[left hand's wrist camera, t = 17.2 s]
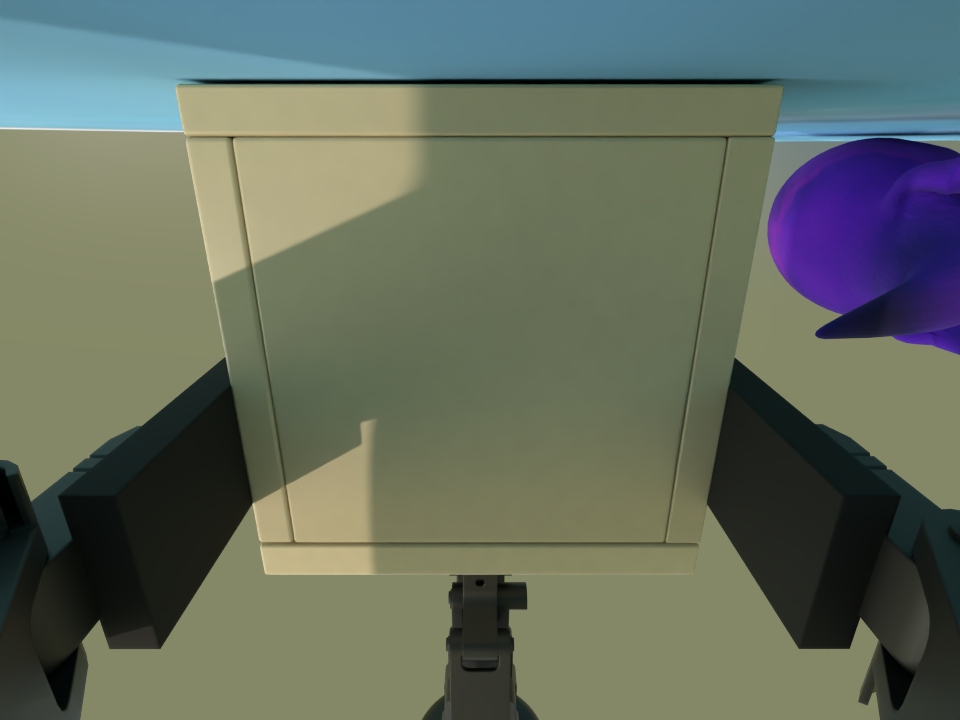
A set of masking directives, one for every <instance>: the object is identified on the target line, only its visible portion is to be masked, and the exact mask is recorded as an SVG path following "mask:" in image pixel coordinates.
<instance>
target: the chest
mask: <svg viewBox="0 0 960 720" xmlns="http://www.w3.org/2000/svg"><path fill="white" fill-rule="evenodd" d="M783 90H784V88H783V86H782V85H780V84H179V85H177V86H176V94H177V100H178V105H179V110H180V116H181V121H182V127H183V131H184V134H185V135H187V136H189V138H187V139H186V146H187V151H188V156H189V162H190V167H191V173H192V178H193V183H194V189H195V194H196V200H197V205H198V210H199V216H200V221H201V227H202V232H203V237H204V243H205V248H206V254H207V259H208V265H209V270H210V275H211V280H212V286H213V292H214V297H215V302H216V308H217V313H218V319H219V324H220V329H221V335H222V340H223V346H224V351H225V356H226V362H227V367H228V373H229V378H230V383H231V389H232V394H233V400H234V405H235V410H236V416H237V421H238V427H239V432H240V437H241V443H242V448H243V454H244V459H245V465H246V470H247V475H248V481H249V486H250V492H251V497H252V502H253V508H254V513H255V519H256V524H257V529H258V535H259V540H260V541H261V542H291V541H293V540H294V539H295V541H296V542H664V540H665V541H666V542H667V543H699V542H700V541H701V535H702V530H703V525H704V519H705V514H706V508H707V501H708V496H709V490H710V485H711V479H712V474H713V469H714V463H715V458H716V452H717V447H718V442H719V436H720V431H721V425H722V420H723V415H724V409H725V404H726V398H727V393H728V388H729V385H730V379H731V374H732V368H733V363H734V358H735V352H736V347H737V341H738V336H739V331H740V325H741V320H742V314H743V309H744V304H745V298H746V293H747V288H748V282H749V277H750V271H751V266H752V261H753V255H754V250H755V245H756V239H757V234H758V228H759V223H760V218H761V212H762V207H763V201H764V196H765V191H766V185H767V180H768V174H769V169H770V164H771V158H772V153H773V148H774V142H775V138H774V137H770V136H773V135H774V134H775V132H776V128H777V122H778V117H779V112H780V106H781V101H782V95H783Z"/></svg>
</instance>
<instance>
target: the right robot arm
mask: <svg viewBox="0 0 960 720" xmlns="http://www.w3.org/2000/svg"><path fill="white" fill-rule="evenodd" d="M449 604H450V608H452V627H451V628H450V631H449V636H448V637H447V638H446V651H448V659H449V663H448V664H447V666H446V672H445V686H444V690H445V695H444V696H442V697H441V698H440V699H439V700H438V701H436V702H435V703H434V704H433V705H432V706H431V707H430V709H429V710H428V711H427V713H426V714H425V715H424V717H423V719H422V720H539V719H538V717H537V716H536V714H535V713H534V711H533V710H532V709H531V708H530V706H529V705H528V704H527V703H526V702H524V701H523V700H522V699H521V698H520V697H518V696H517V695H516V692H517V685H516V672H515V666H514V664H513V651H514V638H512V632H511V628H510V627H509V609H527V588H526V583H525V582H504V575H457V582H453V583H452V589H451V591H449Z"/></svg>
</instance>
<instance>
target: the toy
mask: <svg viewBox="0 0 960 720" xmlns="http://www.w3.org/2000/svg"><path fill="white" fill-rule="evenodd" d="M768 243H769V248H770V252H771V255H772V258H773V260H774V262H775V264H776V266H777V268H778V270H779V272H780V273H781V274H782V276H783V277H784V278H785V280H786V281H787V282H788V283H789V284H790V285H791V286H792V287H793V288H794V289H795V290H796V291H797V292H799V293H800V294H801V295H802V296H804V297H805V298H807V299H809V300H810V301H812V302H814V303H815V304H817V305H819V306H822V307H824V308H826V309H828V310H831V311H833V312H836V313H840V314H843V315H842V316H840V317H838V318H837V319H835V320H833V321H831V322H829V323H828V324H826V325H824V326H823V327H821V328H820V329H819V330H817V331H816V333H815V335H816V336H817V337H818V338H822V339H841V338H872V337H885V336H893V337H894V338H895V339H897V340H899V341H902V342H905V343H911V344H922V345H933V346H935V347H938V348H941V349H944V350H947V351H950V352H953V353H956V354H959V355H960V153H958V152H956V151H954V150H951V149H949V148H945V147H941V146H937V145H932V144H928V143H922V142H916V141H910V140H904V139H897V138H869V139H862V140H856V141H852V142H848V143H845V144H842V145H839V146H837V147H834V148H831V149H829V150H827V151H825V152H823V153H821V154H819V155H817V156H816V157H814V158H812V159H811V160H809V161H808V162H806V163H805V164H804V165H802V166H801V167H800V168H799V169H798V170H796V171H795V172H794V173H793V175H792V176H791V177H790V178H789V179H788V180H787V181H786V182H785V184H784V185H783V186H782V188H781V189H780V191H779V192H778V194H777V196H776V198H775V200H774V202H773V205H772V209H771V212H770V215H769V220H768Z"/></svg>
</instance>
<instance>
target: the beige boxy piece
mask: <svg viewBox="0 0 960 720" xmlns="http://www.w3.org/2000/svg"><path fill="white" fill-rule="evenodd" d="M260 548H261V554H262V559H263V564H264V570H265V573H266V574H268V575H692V574H694V571H695V566H696V560H697V555H698V549H699V545H698V543H667V542H666V541H665V540H664V542H296V541H295V539H294V540H293V541H291V542H262V543H261V546H260Z"/></svg>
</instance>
